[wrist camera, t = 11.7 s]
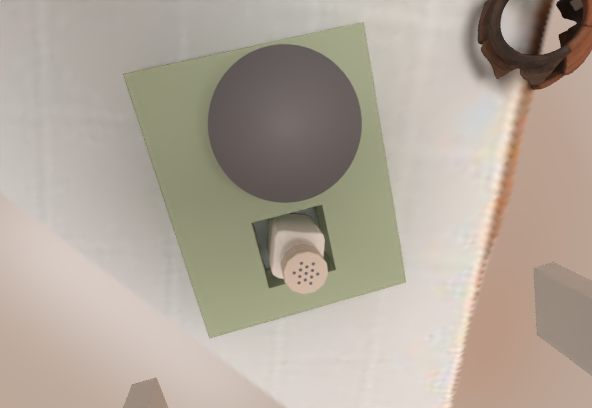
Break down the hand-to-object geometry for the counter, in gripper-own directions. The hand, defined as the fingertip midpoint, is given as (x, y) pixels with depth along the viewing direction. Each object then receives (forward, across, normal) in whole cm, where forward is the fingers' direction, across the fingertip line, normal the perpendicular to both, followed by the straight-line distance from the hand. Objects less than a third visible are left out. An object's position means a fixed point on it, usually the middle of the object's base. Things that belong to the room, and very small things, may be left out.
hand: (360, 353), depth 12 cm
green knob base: (+23, 0, +2) cm, 23 cm away
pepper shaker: (+23, 0, -3) cm, 23 cm away
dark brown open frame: (+23, +25, +10) cm, 36 cm away
